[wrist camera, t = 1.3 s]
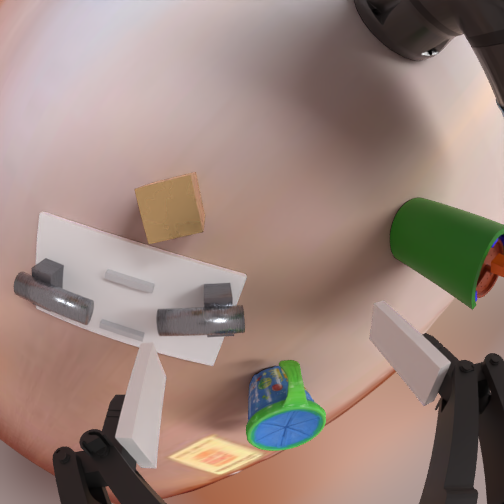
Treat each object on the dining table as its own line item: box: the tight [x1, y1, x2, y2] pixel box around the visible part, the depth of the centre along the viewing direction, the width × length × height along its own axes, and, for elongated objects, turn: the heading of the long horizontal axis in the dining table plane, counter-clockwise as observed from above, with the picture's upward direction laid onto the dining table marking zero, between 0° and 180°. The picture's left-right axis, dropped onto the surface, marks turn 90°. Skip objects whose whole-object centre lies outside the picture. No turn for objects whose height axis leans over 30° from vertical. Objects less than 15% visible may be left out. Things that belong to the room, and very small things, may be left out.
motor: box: [390, 198, 504, 309], centre depth 25 cm, size 10×9×20 cm
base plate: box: [36, 211, 247, 366], centre depth 30 cm, size 14×27×2 cm, turn 70°
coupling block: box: [135, 172, 205, 244], centre depth 26 cm, size 5×5×7 cm
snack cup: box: [246, 360, 326, 451], centre depth 34 cm, size 16×10×10 cm
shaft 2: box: [156, 283, 245, 337], centre depth 29 cm, size 9×5×6 cm, turn 90°
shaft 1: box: [14, 258, 94, 325], centre depth 26 cm, size 10×5×6 cm, turn 70°
